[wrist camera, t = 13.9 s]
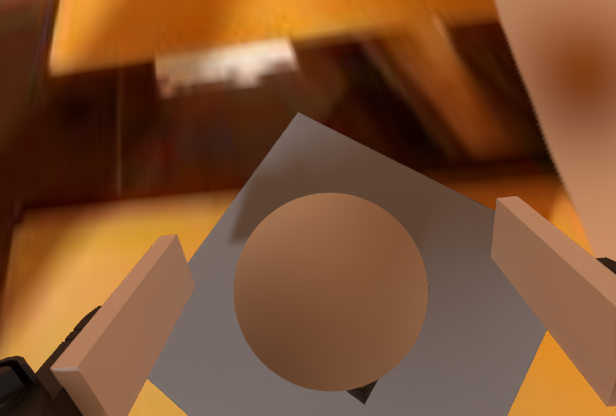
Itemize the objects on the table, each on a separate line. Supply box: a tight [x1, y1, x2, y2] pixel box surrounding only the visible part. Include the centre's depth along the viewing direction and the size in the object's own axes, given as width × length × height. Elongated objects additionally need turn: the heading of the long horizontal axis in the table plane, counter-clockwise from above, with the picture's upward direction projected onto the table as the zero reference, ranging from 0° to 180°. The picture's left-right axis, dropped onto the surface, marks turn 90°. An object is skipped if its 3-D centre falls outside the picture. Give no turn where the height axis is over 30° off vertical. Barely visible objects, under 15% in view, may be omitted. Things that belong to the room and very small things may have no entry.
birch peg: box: [233, 193, 428, 392], centre depth 14 cm, size 4×4×14 cm
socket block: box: [147, 113, 547, 416], centre depth 19 cm, size 16×16×5 cm
